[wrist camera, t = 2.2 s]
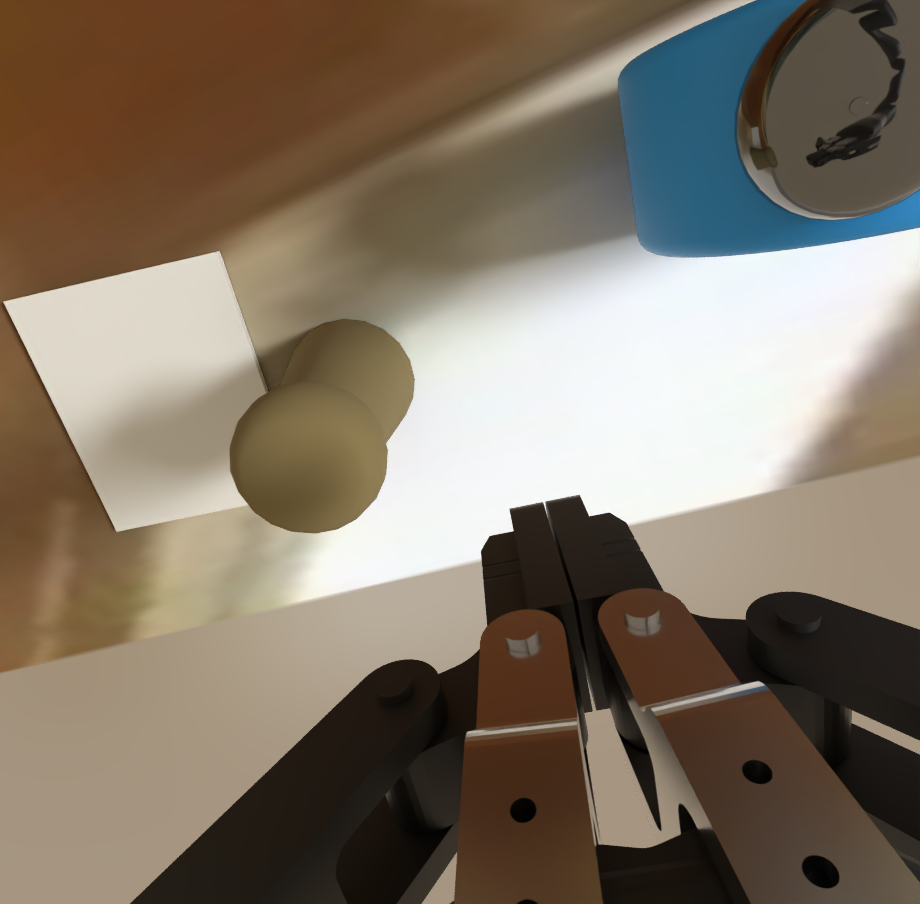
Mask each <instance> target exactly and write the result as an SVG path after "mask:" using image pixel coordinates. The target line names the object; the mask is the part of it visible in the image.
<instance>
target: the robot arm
mask: <svg viewBox="0 0 920 904" xmlns="http://www.w3.org/2000/svg"><path fill="white" fill-rule="evenodd" d="M546 510H547V514H546V511H545V507H544V504H543V502H541V503H536V504H531V505H526V506H521V507H516V508H511V509H510V514H511V519H512V524H513V529H514V531H513V532H508V533H503V534H498V535H493V536H489V538H488V540H487V542H486V543H485V545H484V547H483V549H482V550H481V556H482V567H483V579H484V592H485V603H486V615H487V627H486V629H485V630H484V632H483V634H482V636H481V641H480V649H479V650H478V651H477V652H476V653H475V654H474V655H473V656H472V657H471V658H470V659H468V660H467V661H465V662H463V663H462V664H460V665H458V666H456V667H454V668H451V669H449V670H447V671H445V672H442V673H440V674H438V673H437V671H436V670H435V669H434V668H433V667H432V666H431V665H429V664H427V663H426V662H423V661H419V660H412V659H411V660H399V661H395V662H391V663H388V664H386V665H383V666H381V667H380V668H378V669H376V670H375V671H373V672H372V673H370V674H369V675H368V676H367V677H365V678H364V679H363V680H362V682H360V683H359V684H358V685H357V686H356V687H355V688H354V689H353V690H352V691H351V692H350V693H349V694H348V695H347V696H346V697H345V698H344V699H343V700H342V701H340V702H339V703H338V704H337V705H336V706H335V707H334V708H333V709H332V710H331V711H330V712H329V713H328V714H327V715H326V716H325V717H324V718H323V719H322V720H321V721H320V722H319V723H318V724H317V725H316V726H314V727H313V728H312V729H311V730H310V731H309V732H308V733H307V734H306V735H305V736H304V737H303V738H302V739H301V740H300V741H299V742H298V743H297V744H296V745H295V746H294V747H293V748H292V749H291V750H289V751H288V753H286V754H285V755H284V756H283V757H282V758H281V759H280V760H279V761H278V762H277V763H276V764H275V765H274V766H273V767H272V768H271V769H270V770H269V771H268V772H267V773H266V774H265V775H263V777H261V778H260V779H259V780H258V781H257V782H256V783H255V784H254V785H253V786H252V787H251V788H250V789H249V790H248V791H247V792H246V793H245V794H244V795H243V796H242V797H241V798H240V799H238V800H237V801H236V802H235V803H234V804H233V805H232V806H231V807H230V808H229V809H228V810H227V811H226V812H225V813H224V814H223V815H222V816H221V817H220V818H219V819H218V820H217V821H216V822H215V823H214V824H213V825H211V826H210V827H209V828H208V829H207V830H206V831H205V832H204V833H203V834H202V835H201V836H200V837H199V838H198V839H197V840H196V841H195V842H194V843H193V844H192V845H191V846H190V847H189V848H188V849H186V850H185V852H183V854H181V855H180V856H179V857H178V858H177V859H176V860H175V861H174V862H173V863H172V864H171V865H170V866H169V867H168V868H167V869H166V870H165V871H164V872H163V873H161V874H160V875H159V876H158V877H157V878H156V879H155V880H154V881H153V882H152V883H151V884H150V885H149V886H148V887H147V888H146V889H145V890H144V891H143V892H142V893H141V894H140V895H139V896H138V897H137V898H136V899H134V901H132V902H131V903H130V904H421V903H422V902H423V901H424V899H425V898H426V896H427V895H428V893H429V892H430V890H431V889H432V887H433V886H434V884H435V883H436V882H437V880H438V879H439V877H440V876H441V874H442V873H443V871H444V870H445V869H446V867H447V866H448V864H449V863H450V861H451V860H452V858H453V857H454V855H455V854H456V852H457V865H456V881H455V895H454V901H453V902H452V903H450V904H920V755H919V754H917V753H915V752H913V751H911V750H909V749H906V748H904V747H902V746H900V745H898V744H895V743H893V742H891V741H889V740H887V739H885V738H882V737H880V736H878V735H876V734H874V733H872V732H870V731H867V730H865V729H863V728H861V727H858V726H856V725H854V724H852V723H851V720H852V710H853V711H855V712H857V713H860V714H862V715H864V716H867V717H869V718H871V719H873V720H876V721H877V722H880V723H882V724H884V725H886V726H889V727H891V728H893V729H895V730H898V731H900V732H902V733H904V734H906V735H909V736H911V737H913V738H915V739H918V740H920V630H919V629H916V628H913V627H910V626H907V625H904V624H901V623H898V622H895V621H892V620H889V619H886V618H883V617H879V616H877V615H874V614H871V613H868V612H865V611H862V610H858V609H856V608H852V607H849V606H847V605H844V604H841V603H838V602H834V601H832V600H829V599H825V598H822V597H819V596H816V595H812V594H807V593H801V592H778V593H773V594H768V595H766V596H763V597H761V598H759V599H757V600H755V601H754V602H753V603H752V604H751V605H750V606H749V608H748V610H747V612H746V620H740V619H717V618H708V617H702V616H698V615H695V614H692V613H690V612H689V611H688V609H687V608H686V607H685V605H684V604H683V603H682V602H681V601H680V600H679V599H678V598H676V597H675V596H673V595H671V594H669V593H666V592H664V591H663V589H662V588H661V585H660V584H659V582H658V580H657V578H656V576H655V574H654V573H653V571H652V569H651V567H650V565H649V563H648V562H647V560H646V558H645V556H644V555H643V552H641V550H640V547H639V545H638V543H637V542H636V540H635V539H634V536H633V534H632V532H631V531H630V529H629V527H628V525H627V523H626V522H624V521H623V520H621V519H619V518H618V517H616V516H614V515H613V514H611V513H605V514H600V515H595V516H589V515H588V513H587V511H586V508H585V506H584V504H583V502H582V499H581V497H580V495H576V496H571V497H566V498H561V499H556V500H551V501H546ZM547 516H548V517H547ZM587 679H588V683H589V686H590V690H591V693H592V697H593V700H594V704H595V707H596V710H602V709H608V708H610V709H611V713H612V716H613V719H614V722H615V729H616V734H617V741H618V746H619V749H620V752H621V755H622V757H623V760H624V762H625V765H626V767H627V770H628V772H629V775H630V777H631V779H632V782H633V784H634V787H635V790H636V792H637V794H638V797H639V799H640V802H641V804H642V807H643V809H644V812H645V814H646V817H647V819H648V822H649V824H650V826H651V829H652V832H653V834H654V837H655V839H656V841H657V844H658V845H656V846H653V847H649V848H632V847H621V846H611V845H602V842H601V835H600V829H599V822H598V816H597V810H596V803H595V797H594V790H593V784H592V778H591V771H590V765H589V759H588V753H587V747H586V744H587V741H588V731H587V726H586V720H585V715H584V713H586V712H592V705H591V699H590V694H589V688H588V683H587ZM370 812H371V813H370ZM354 831H355V832H354Z"/></svg>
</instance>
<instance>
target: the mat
mask: <svg viewBox="0 0 920 904" xmlns="http://www.w3.org/2000/svg"><path fill="white" fill-rule="evenodd" d="M4 304H5V306H6V308H7V310H8V312H9V314H10V316H11V318H12V321H13V323H14V325H15V327H16V329H17V331H18V333H19V335H20V337H21V339H22V341H23V343H24V345H25V347H26V349H27V351H28V353H29V355H30V357H31V359H32V361H33V363H34V365H35V367H36V369H37V371H38V373H39V375H40V377H41V379H42V381H43V383H44V385H45V387H46V389H47V391H48V393H49V395H50V398H51V400H52V402H53V404H54V406H55V408H56V410H57V412H58V414H59V416H60V418H61V420H62V422H63V424H64V426H65V428H66V430H67V432H68V434H69V436H70V438H71V440H72V442H73V444H74V446H75V448H76V450H77V452H78V454H79V456H80V458H81V460H82V462H83V464H84V466H85V468H86V470H87V472H88V475H89V477H90V479H91V481H92V483H93V485H94V487H95V489H96V491H97V493H98V495H99V497H100V499H101V501H102V503H103V505H104V507H105V509H106V511H107V513H108V515H109V517H110V519H111V521H112V523H113V525H114V527H115V529H116V531H122V530H127V529H132V528H137V527H142V526H147V525H152V524H157V523H162V522H167V521H172V520H177V519H182V518H186V517H191V516H196V515H201V514H206V513H211V512H216V511H221V510H226V509H231V508H236V507H241V506H246V505H248V504H247V502H246V501H245V500H244V499H243V497H242V496H241V495H240V494H239V492H238V490H237V488H236V485H235V483H234V480H233V477H232V475H231V472H230V454H229V449H230V444H231V441H232V437H233V434H234V431H235V428H236V425H237V422H238V420H239V419H240V418H241V417H242V416H243V414H244V413H245V412H246V411H247V409H248V408H249V407H250V406H251V404H252V403H253V402H254V401H255V400H257V399H258V398H259V397H261V396H262V395H264V394H266V393H267V392H269V391H268V388H267V385H266V382H265V379H264V377H263V374H262V371H261V368H260V365H259V362H258V359H257V357H256V354H255V351H254V348H253V345H252V342H251V339H250V336H249V334H248V331H247V328H246V325H245V322H244V319H243V316H242V314H241V311H240V308H239V305H238V302H237V299H236V296H235V293H234V291H233V288H232V285H231V282H230V279H229V276H228V273H227V271H226V268H225V265H224V262H223V259H222V256H221V253H220V251H218V252H214V253H210V254H205V255H201V256H197V257H193V258H188V259H184V260H180V261H175V262H171V263H167V264H163V265H158V266H154V267H150V268H145V269H141V270H137V271H133V272H128V273H124V274H120V275H116V276H111V277H107V278H103V279H98V280H94V281H90V282H86V283H81V284H77V285H73V286H68V287H64V288H60V289H56V290H51V291H47V292H43V293H38V294H34V295H30V296H26V297H21V298H17V299H13V300H9V301H4Z"/></svg>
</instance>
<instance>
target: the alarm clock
mask: <svg viewBox="0 0 920 904" xmlns="http://www.w3.org/2000/svg"><path fill="white" fill-rule="evenodd" d="M618 92H619V99H620V107H621V114H622V122H623V129H624V137H625V144H626V152H627V159H628V167H629V174H630V182H631V189H632V197H633V204H634V212H635V219H636V226H637V234H638V238H639V241H640V244H641V245H642V246H643V247H644V248H645V249H646V250H647V251H650V252H652V253H655V254H657V255H662V256H669V257H717V256H732V255H743V254H754V253H763V252H772V251H781V250H789V249H797V248H804V247H811V246H818V245H825V244H831V243H837V242H844V241H850V240H856V239H861V238H867V237H873V236H878V235H884V234H889V233H894V232H899V231H905V230H910V229H914V228H919V227H920V0H756V1H753V2H751V3H748V4H746V5H744V6H741V7H739V8H736V9H734V10H732V11H729V12H727V13H725V14H722V15H720V16H718V17H715V18H713V19H711V20H709V21H706V22H704V23H702V24H700V25H697V26H695V27H693V28H691V29H689V30H687V31H684V32H682V33H680V34H678V35H676V36H674V37H672V38H670V39H668V40H666V41H664V42H662V43H660V44H658V45H657V46H655V47H653V48H651V49H649V50H647V51H646V52H644V53H642V54H641V55H639V56H637V57H636V58H635V59H633V60H632V61H631V62H629V63H628V64H627V65H626V66H625V68H624V69H623V70H622V71H621V73H620V76H619V78H618Z"/></svg>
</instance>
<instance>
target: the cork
mask: <svg viewBox="0 0 920 904" xmlns="http://www.w3.org/2000/svg"><path fill="white" fill-rule="evenodd" d="M414 380H415V379H414V375H413V371H412V367H411V363H410V360H409V358H408V356H407V355H406V353H405V351H404V350H403V348H402V347H401V345H400V343H399V342H397V341H396V340H395V339H394V338H393V337H392V336H391V335H389V334H388V333H387V332H386V331H385V330H384V329H381V328H379V327H377V326H374V325H372V324H370V323H368V322H365V321H358V320H349V319H342V320H337V321H332V322H328V323H324V324H322V325H320V326H319V327H317V328H315V329H314V330H312V331H311V332H309V333H307V334H306V336H305V337H304V338H303V339H302V341H301V342H300V343H299V344H298V345H297V347H296V348H295V350H294V352H293V355H292V357H291V360H290V362H289V365H288V367H287V370H286V372H285V374H284V377H283V379H282V382H281V384H280V386H278V387H276V388H274V389H273V390H271V391H269V392H267V393H266V394H264V395H262V396H261V397H259V398H258V399H257V400H255V401H254V402H253V403H252V404H251V406H250V407H249V408H248V409H247V411H246V412H245V413H244V414H243V416H242V417H241V418H240V419H239V420H238V422H237V425H236V428H235V431H234V434H233V437H232V441H231V444H230V449H229V454H230V472H231V475H232V477H233V480H234V483H235V485H236V488H237V490H238V492H239V494H240V495H241V496H242V497H243V499H244V500H245V501H246V502H247V504H248V505H249V506H250V508H251V509H252V510H253V511H254V512H255V513H256V514H258V515H259V516H261V517H262V518H263V519H265V520H266V521H268V522H269V523H270V524H272V525H275V526H278V527H280V528H283V529H286V530H289V531H292V532H304V533H320V532H326V531H331V530H336V529H339V528H341V527H343V526H345V525H346V524H348V523H350V522H352V521H354V520H356V519H357V518H358V517H359V516H360V515H361V514H362V513H363V512H364V511H365V510H366V509H367V508H368V507H369V506H370V505H371V503H372V502H373V501H374V500H375V499H376V498H377V495H378V493H379V491H380V489H381V486H382V484H383V482H384V480H385V476H386V468H387V453H388V450H387V446H386V443H387V441H388V440H389V438H390V437H391V435H392V434H393V432H394V431H395V430H396V428H397V427H398V425H399V424H400V422H401V421H402V419H403V418H404V417H405V415H406V413H407V411H408V408H409V406H410V404H411V402H412V399H413V392H414Z"/></svg>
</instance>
